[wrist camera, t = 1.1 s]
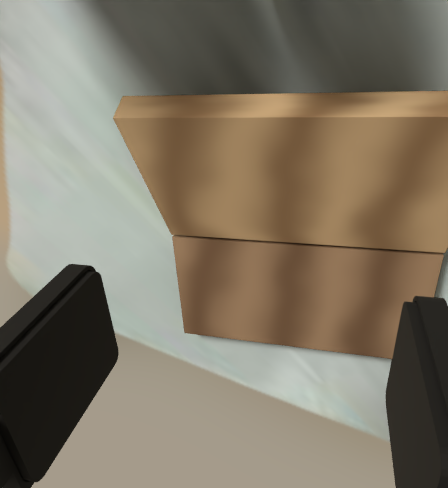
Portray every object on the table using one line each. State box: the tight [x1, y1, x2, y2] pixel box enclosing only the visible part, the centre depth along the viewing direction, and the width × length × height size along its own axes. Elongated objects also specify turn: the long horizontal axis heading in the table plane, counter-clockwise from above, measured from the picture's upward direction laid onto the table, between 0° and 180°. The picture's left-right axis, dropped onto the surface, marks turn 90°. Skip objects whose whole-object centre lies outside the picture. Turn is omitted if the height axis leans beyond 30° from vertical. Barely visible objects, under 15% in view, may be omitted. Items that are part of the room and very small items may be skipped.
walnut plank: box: [172, 235, 444, 359], centre depth 34 cm, size 20×10×2 cm, turn 93°
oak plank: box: [113, 91, 448, 253], centre depth 26 cm, size 20×12×2 cm
